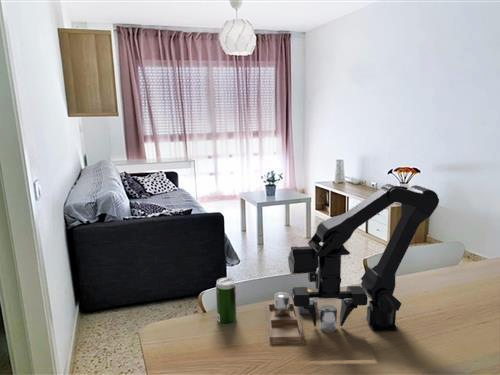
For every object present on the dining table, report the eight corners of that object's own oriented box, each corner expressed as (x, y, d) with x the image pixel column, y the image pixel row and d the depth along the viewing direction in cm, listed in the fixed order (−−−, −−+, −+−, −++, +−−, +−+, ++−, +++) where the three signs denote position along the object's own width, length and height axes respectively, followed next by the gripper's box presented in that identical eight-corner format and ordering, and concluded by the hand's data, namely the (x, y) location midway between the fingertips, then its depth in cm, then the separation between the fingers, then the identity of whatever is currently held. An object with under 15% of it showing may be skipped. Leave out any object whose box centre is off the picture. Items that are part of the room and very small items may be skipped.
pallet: (295, 308, 114) (296, 301, 113) (305, 345, 96) (305, 337, 96) (265, 308, 114) (265, 302, 113) (268, 345, 96) (268, 338, 95)
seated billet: (289, 311, 111) (289, 291, 110) (290, 319, 107) (290, 299, 105) (273, 311, 111) (273, 292, 110) (274, 319, 107) (274, 299, 105)
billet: (334, 325, 105) (334, 304, 103) (337, 334, 100) (338, 313, 99) (317, 325, 105) (318, 305, 103) (321, 334, 100) (321, 313, 99)
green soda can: (223, 329, 103) (221, 287, 101) (213, 320, 108) (212, 280, 105) (240, 322, 106) (239, 282, 104) (230, 314, 111) (229, 275, 108)
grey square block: (314, 306, 115) (314, 293, 114) (317, 315, 110) (317, 302, 109) (297, 306, 115) (297, 294, 114) (299, 315, 110) (299, 302, 109)
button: (311, 295, 113) (311, 289, 112) (313, 300, 110) (313, 293, 109) (301, 295, 113) (301, 289, 112) (302, 300, 110) (302, 294, 109)
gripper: (356, 257, 107) (354, 309, 110) (289, 259, 107) (289, 310, 110) (369, 274, 96) (366, 331, 99) (294, 276, 96) (294, 332, 99)
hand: (327, 325), depth 102 cm, fingers open, 7 cm apart
